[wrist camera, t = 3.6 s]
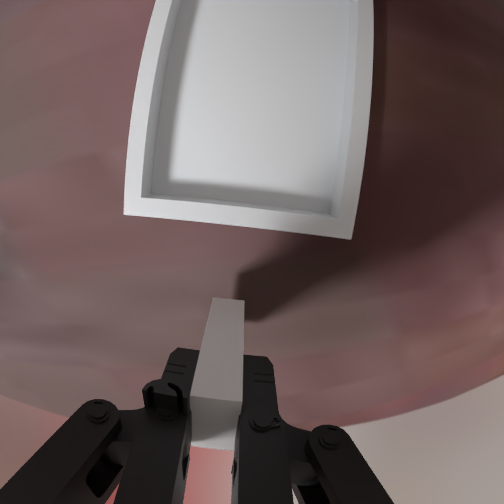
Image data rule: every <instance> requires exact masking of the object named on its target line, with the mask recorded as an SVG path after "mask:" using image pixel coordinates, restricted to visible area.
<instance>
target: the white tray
mask: <svg viewBox="0 0 504 504" xmlns="http://www.w3.org/2000/svg"><path fill="white" fill-rule="evenodd" d="M373 39H374V19H373V0H156V2H155V6H154V9H153V13H152V16H151V20H150V24H149V28H148V32H147V36H146V40H145V44H144V48H143V53H142V58H141V62H140V67H139V73H138V78H137V83H136V89H135V95H134V102H133V108H132V116H131V123H130V131H129V140H128V150H127V162H126V175H125V193H124V215H134V216H146V217H157V218H167V219H178V220H188V221H198V222H207V223H217V224H226V225H235V226H244V227H253V228H262V229H271V230H279V231H287V232H296V233H304V234H312V235H319V236H327V237H335V238H342V239H350V240H351V238H352V233H353V228H354V223H355V217H356V212H357V206H358V200H359V194H360V188H361V181H362V174H363V167H364V160H365V152H366V144H367V135H368V126H369V115H370V103H371V90H372V72H373Z"/></svg>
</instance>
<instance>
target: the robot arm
mask: <svg viewBox="0 0 504 504" xmlns="http://www.w3.org/2000/svg"><path fill="white" fill-rule="evenodd" d="M244 303H245V301H243V300H234V299H225V298H216V297H213V299H212V303H211V307H210V311H209V315H208V320H207V324H206V328H205V332H204V336H203V340H202V345H201V349H200V351H199V350H192V349H185V348H177V349H176V350H174V351H173V352H172V353H171V354H170V356H169V359H168V361H167V365H166V367H165V370H164V372H163V375H162V378H161V379H158V380H154V381H151V382H150V383H148V384H146V385H145V387H144V388H143V389H142V392H143V399H144V405H145V407H144V408H141V409H137V410H118V409H117V407H116V406H115V405H114V404H112V403H111V402H109V401H106V400H103V399H94V400H90V401H87V402H86V403H84V404H83V405H82V406H81V407H80V408H79V409H78V410H77V411H76V412H75V413H74V414H73V415H72V416H71V417H70V418H69V419H68V420H67V421H66V422H65V423H64V424H63V425H62V426H61V427H60V428H59V429H58V430H57V431H56V432H55V433H54V434H53V435H52V436H51V437H50V438H49V439H48V440H47V441H46V442H45V443H44V445H43V446H42V447H41V448H40V449H39V450H38V451H37V452H36V453H35V454H34V455H33V456H32V457H31V458H30V459H29V460H28V461H27V462H26V463H25V464H24V465H23V466H22V467H21V468H20V469H19V470H18V471H17V472H16V474H15V475H14V476H13V477H12V478H11V479H10V480H9V481H8V482H7V483H6V484H5V485H4V486H3V487H2V488H1V489H0V504H105V503H106V501H107V500H108V498H109V497H110V496H111V494H112V493H113V491H114V490H115V488H116V487H117V485H118V484H119V483H120V484H119V487H118V490H117V493H116V497H115V500H114V503H113V504H183V499H184V492H185V485H186V478H187V473H188V466H189V460H190V455H189V451H190V445H191V446H196V447H203V448H211V449H220V450H231V451H234V461H233V466H232V472H231V473H232V499H231V504H294V503H293V494H292V489H293V491H294V493H295V496H296V498H297V500H298V503H299V504H394V503H393V501H392V500H391V498H390V497H389V495H388V494H387V493H386V491H385V489H384V488H383V486H382V485H381V483H380V482H379V480H378V479H377V477H376V476H375V474H374V473H373V471H372V470H371V468H370V467H369V465H368V464H367V462H366V461H365V459H364V458H363V456H362V455H361V453H360V451H359V450H358V448H357V447H356V445H355V444H354V442H353V441H352V439H351V438H350V436H349V435H348V434H347V433H346V432H345V431H344V430H343V429H341V428H339V427H338V426H333V425H321V426H318V427H316V428H314V429H313V430H312V431H307V430H303V429H299V428H296V427H293V426H291V425H289V424H287V423H286V422H285V421H284V420H283V419H282V418H281V416H280V415H279V411H278V404H277V395H276V386H275V378H274V369H273V364H272V363H271V362H270V360H269V359H268V358H267V357H264V356H252V355H243V346H244Z"/></svg>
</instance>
